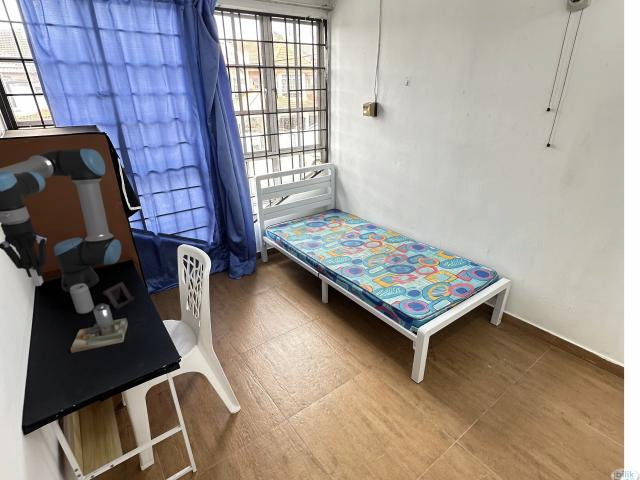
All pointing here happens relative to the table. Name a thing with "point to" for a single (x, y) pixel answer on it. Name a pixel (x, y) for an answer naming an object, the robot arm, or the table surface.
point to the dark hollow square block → (115, 293)
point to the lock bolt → (90, 332)
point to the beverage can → (81, 298)
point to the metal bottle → (104, 319)
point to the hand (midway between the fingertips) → (39, 283)
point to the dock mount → (100, 337)
